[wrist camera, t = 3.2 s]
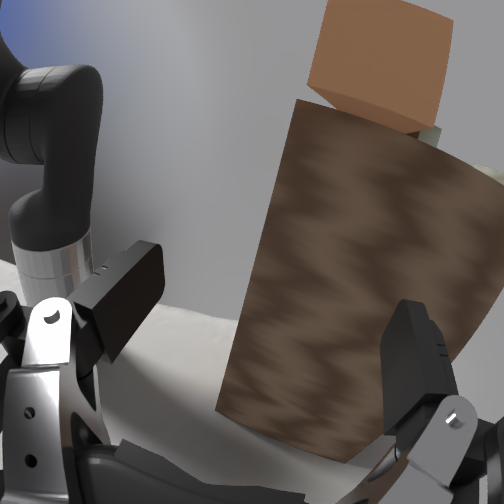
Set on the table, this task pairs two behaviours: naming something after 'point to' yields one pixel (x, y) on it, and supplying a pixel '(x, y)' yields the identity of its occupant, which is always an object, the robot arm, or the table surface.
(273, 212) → the stand
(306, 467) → the table surface
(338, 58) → the tan wooden block
